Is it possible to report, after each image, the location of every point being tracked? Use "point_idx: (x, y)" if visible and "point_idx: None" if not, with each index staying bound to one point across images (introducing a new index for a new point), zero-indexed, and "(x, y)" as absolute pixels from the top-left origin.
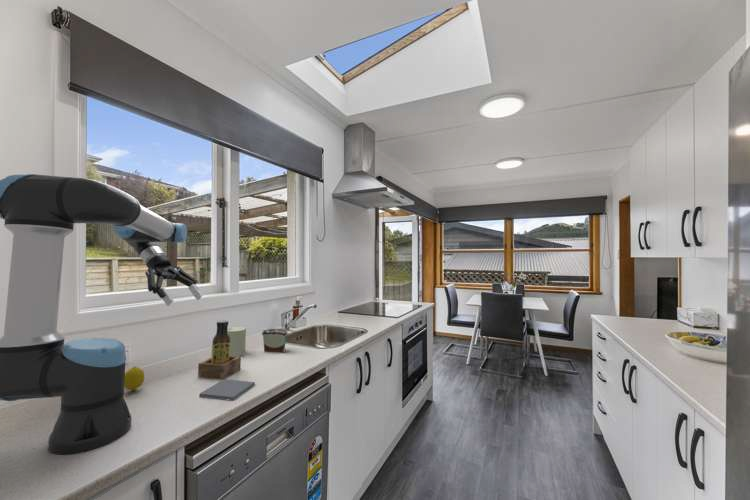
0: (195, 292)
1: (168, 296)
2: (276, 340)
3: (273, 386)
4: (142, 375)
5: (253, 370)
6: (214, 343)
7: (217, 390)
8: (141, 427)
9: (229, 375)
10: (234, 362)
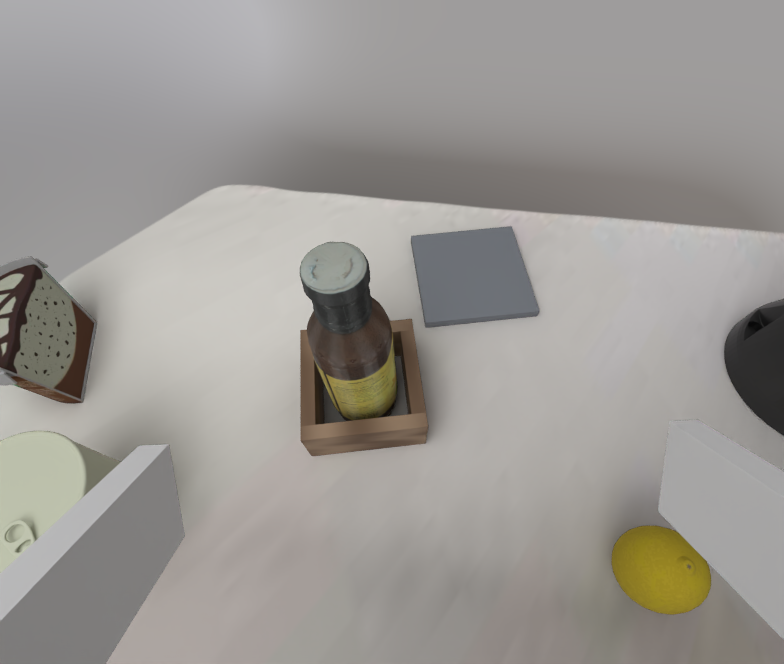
0: (109, 571)
1: (771, 465)
2: (52, 322)
3: (401, 201)
4: (640, 528)
5: (308, 309)
6: (390, 339)
7: (500, 283)
8: (711, 311)
9: None
10: None
